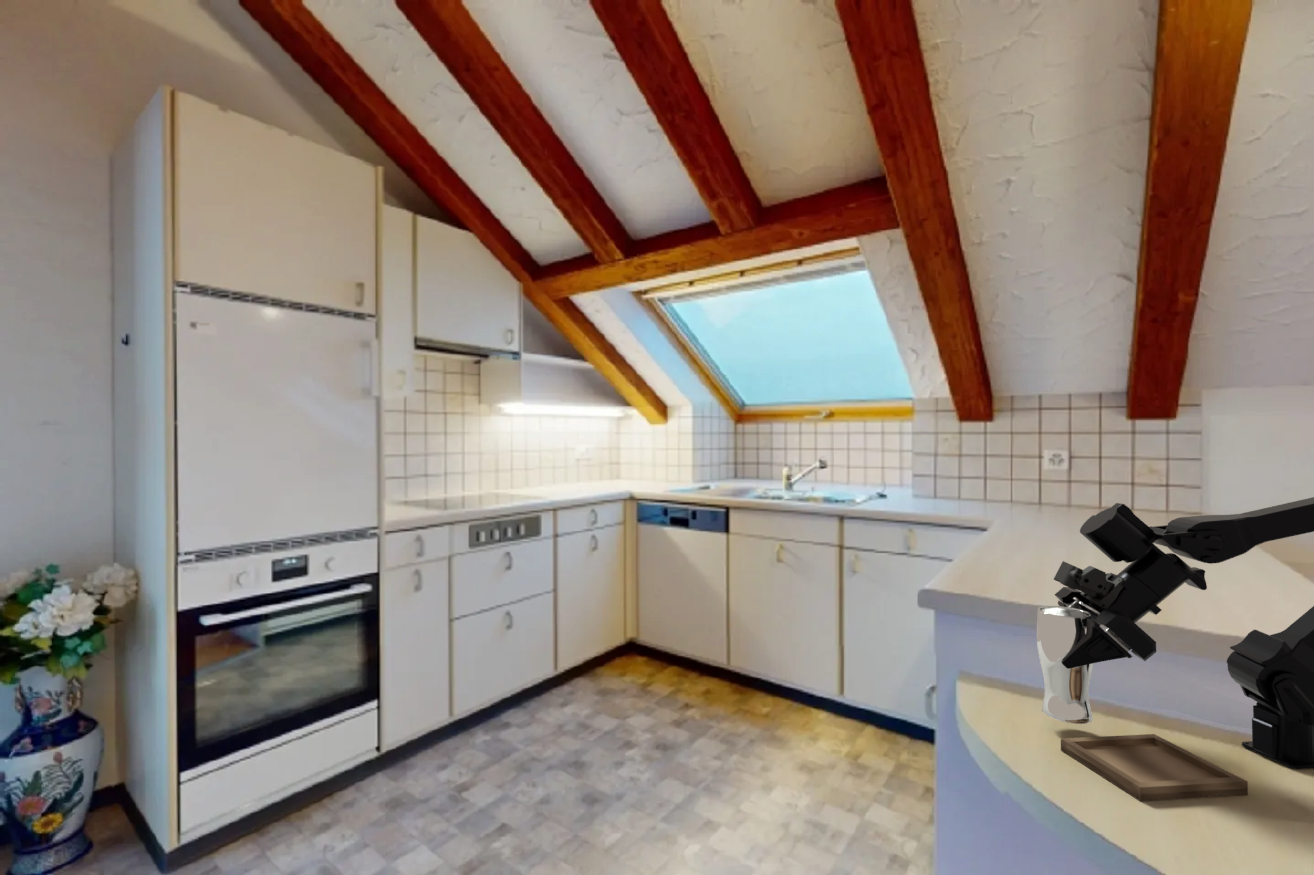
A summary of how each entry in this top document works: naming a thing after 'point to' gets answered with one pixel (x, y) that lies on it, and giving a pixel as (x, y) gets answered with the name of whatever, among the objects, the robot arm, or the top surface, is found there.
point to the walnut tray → (1153, 767)
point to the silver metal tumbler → (1062, 684)
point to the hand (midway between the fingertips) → (1054, 657)
